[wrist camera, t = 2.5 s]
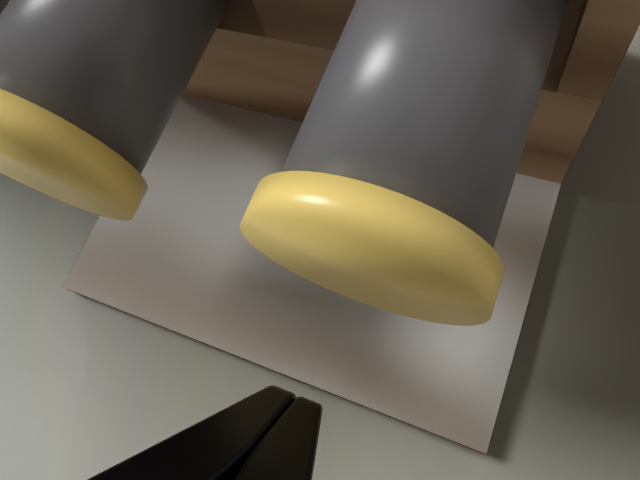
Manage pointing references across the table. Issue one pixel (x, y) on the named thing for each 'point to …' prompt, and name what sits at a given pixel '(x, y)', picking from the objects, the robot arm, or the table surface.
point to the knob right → (411, 156)
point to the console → (297, 292)
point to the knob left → (94, 92)
